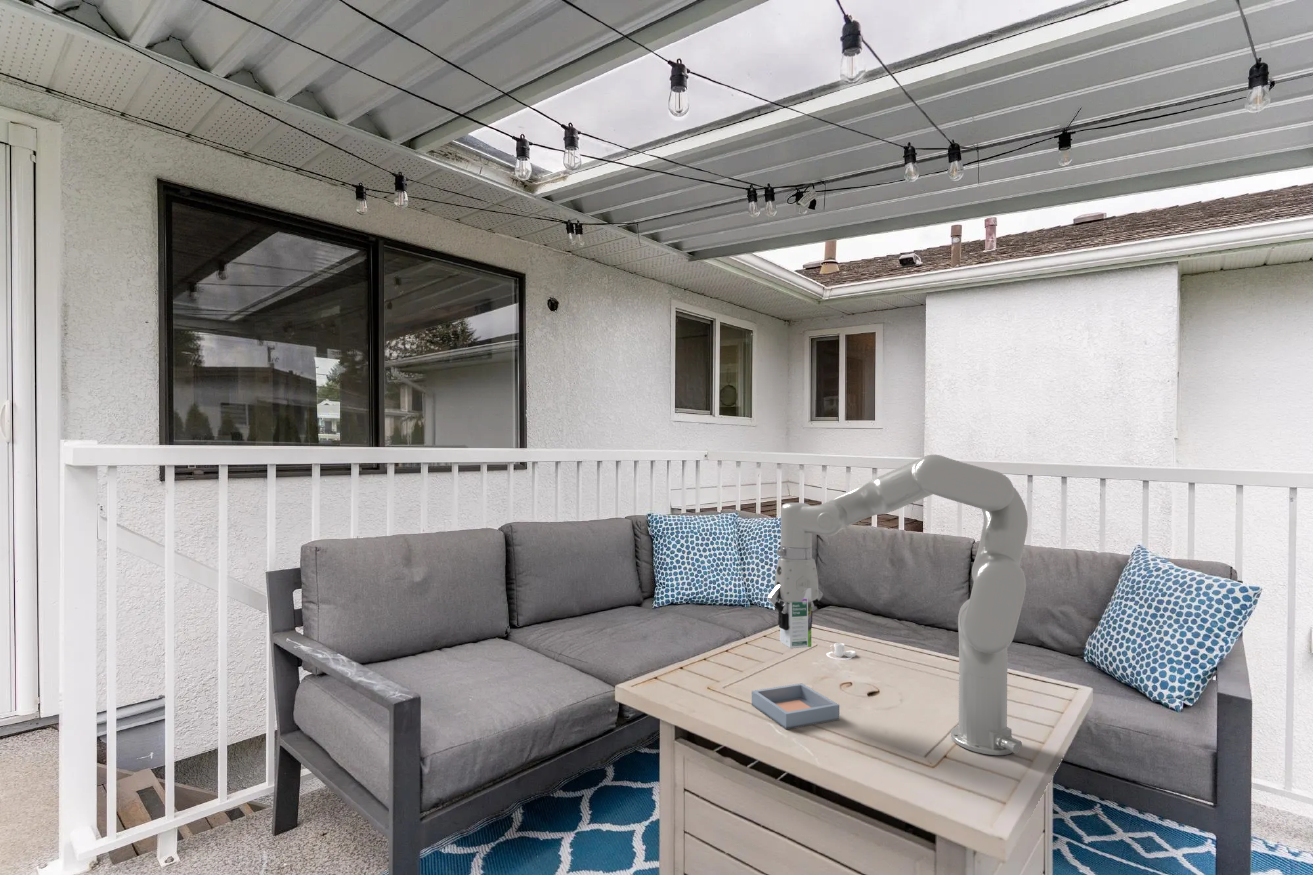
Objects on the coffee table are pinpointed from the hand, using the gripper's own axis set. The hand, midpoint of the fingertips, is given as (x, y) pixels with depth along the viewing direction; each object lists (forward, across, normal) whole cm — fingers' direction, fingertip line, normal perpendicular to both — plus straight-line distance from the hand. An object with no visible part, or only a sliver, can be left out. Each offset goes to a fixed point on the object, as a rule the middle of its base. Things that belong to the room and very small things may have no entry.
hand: (795, 626), depth 156 cm
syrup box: (+5, 0, 0) cm, 5 cm away
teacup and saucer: (+21, +38, +28) cm, 52 cm away
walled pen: (+21, 0, 0) cm, 21 cm away
